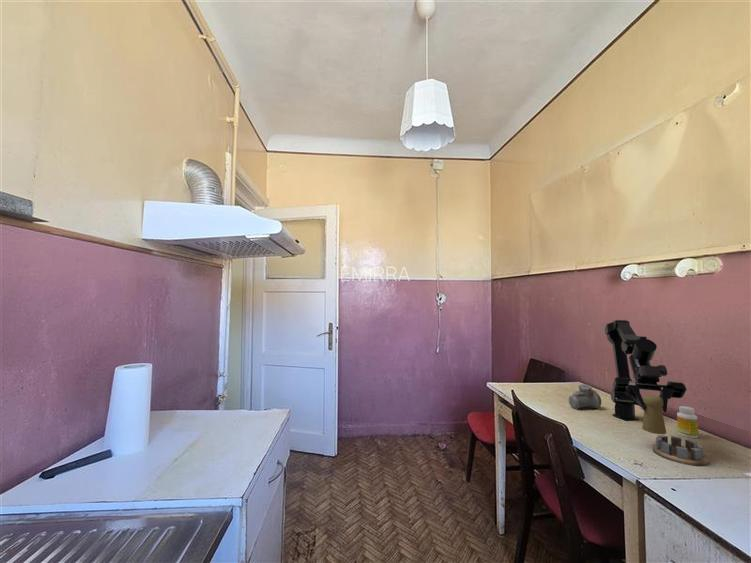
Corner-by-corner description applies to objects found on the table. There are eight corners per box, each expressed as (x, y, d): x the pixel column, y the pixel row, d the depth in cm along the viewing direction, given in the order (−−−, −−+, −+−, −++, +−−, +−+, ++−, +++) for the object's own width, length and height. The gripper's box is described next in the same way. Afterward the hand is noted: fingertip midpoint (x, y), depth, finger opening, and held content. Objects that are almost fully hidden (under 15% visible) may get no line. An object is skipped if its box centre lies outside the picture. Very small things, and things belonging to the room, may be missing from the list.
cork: (671, 435, 103) (669, 399, 103) (648, 433, 104) (646, 397, 105) (659, 427, 108) (658, 393, 109) (638, 425, 110) (636, 392, 110)
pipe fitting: (588, 403, 154) (587, 381, 154) (602, 410, 146) (601, 387, 146) (565, 407, 152) (564, 385, 152) (578, 414, 144) (577, 392, 144)
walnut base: (673, 444, 111) (673, 441, 111) (720, 463, 98) (720, 460, 98) (641, 447, 109) (641, 444, 109) (685, 467, 96) (685, 464, 96)
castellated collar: (674, 443, 110) (674, 434, 110) (713, 458, 99) (712, 448, 99) (647, 445, 108) (647, 436, 108) (684, 461, 97) (683, 451, 97)
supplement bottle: (693, 439, 115) (691, 411, 116) (674, 433, 120) (673, 406, 121) (701, 436, 117) (700, 409, 118) (683, 431, 122) (681, 404, 123)
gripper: (613, 353, 115) (623, 394, 104) (682, 357, 107) (701, 401, 97) (608, 371, 122) (618, 411, 111) (673, 376, 114) (689, 419, 103)
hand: (654, 410), depth 105 cm, fingers closed on cork, 5 cm apart
